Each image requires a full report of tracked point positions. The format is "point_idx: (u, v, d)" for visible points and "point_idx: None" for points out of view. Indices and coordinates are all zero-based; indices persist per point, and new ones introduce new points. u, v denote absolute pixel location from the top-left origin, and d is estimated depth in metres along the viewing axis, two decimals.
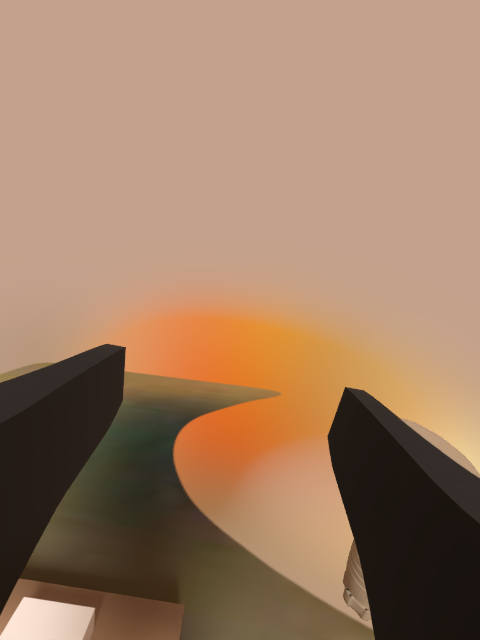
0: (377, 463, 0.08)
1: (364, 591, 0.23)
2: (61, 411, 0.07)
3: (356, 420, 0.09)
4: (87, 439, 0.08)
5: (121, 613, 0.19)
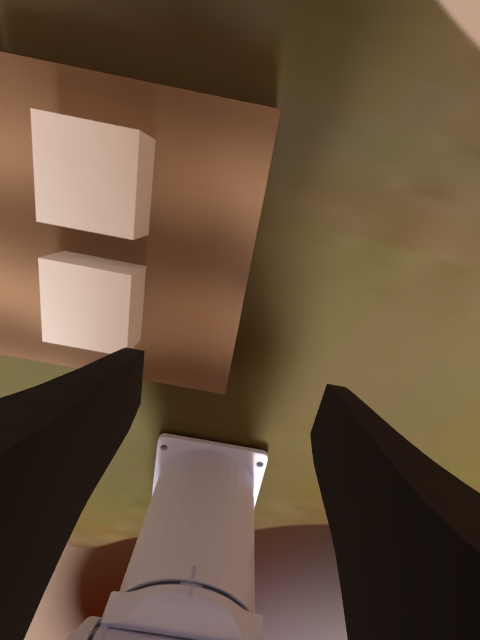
0: (353, 459, 0.07)
1: None
2: (88, 416, 0.07)
3: (335, 416, 0.09)
4: (109, 443, 0.08)
5: (187, 118, 0.13)
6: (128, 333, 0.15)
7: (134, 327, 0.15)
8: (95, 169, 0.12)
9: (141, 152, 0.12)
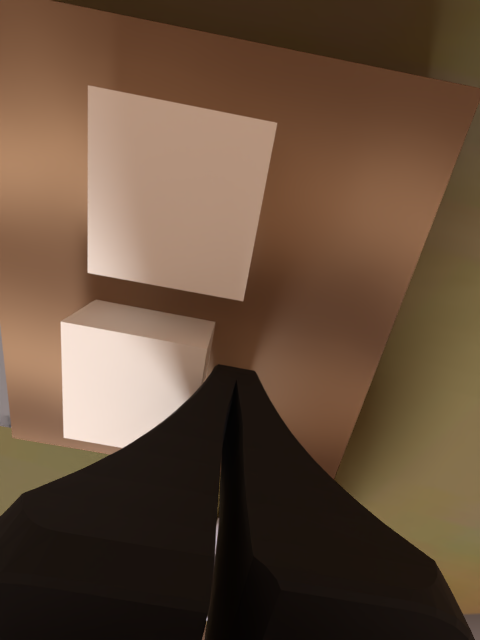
0: (234, 438, 0.07)
1: None
2: None
3: (233, 398, 0.09)
4: None
5: (327, 104, 0.08)
6: None
7: None
8: (192, 190, 0.07)
9: None
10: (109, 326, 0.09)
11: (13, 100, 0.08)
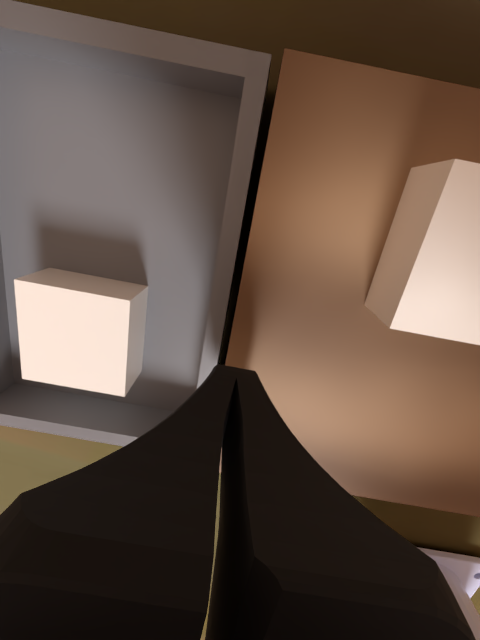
0: (234, 438, 0.07)
1: None
2: None
3: (233, 398, 0.09)
4: None
5: None
6: None
7: None
8: None
9: None
10: (115, 282, 0.12)
11: (301, 156, 0.09)
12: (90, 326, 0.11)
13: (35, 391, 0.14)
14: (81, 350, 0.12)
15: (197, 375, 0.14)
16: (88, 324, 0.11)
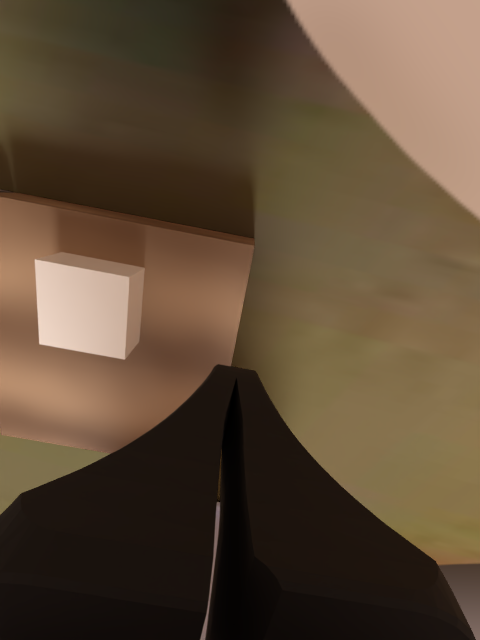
0: (234, 438, 0.07)
1: None
2: None
3: (234, 398, 0.09)
4: None
5: (172, 251, 0.15)
6: None
7: None
8: (91, 306, 0.14)
9: (131, 290, 0.14)
10: None
11: None
12: None
13: None
14: None
15: None
16: None
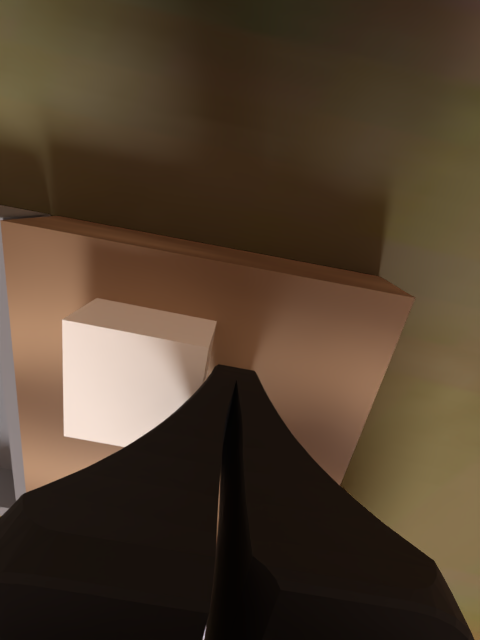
0: (233, 438, 0.07)
1: None
2: None
3: (233, 398, 0.09)
4: None
5: (290, 305, 0.10)
6: None
7: None
8: (145, 386, 0.09)
9: (206, 363, 0.09)
10: None
11: (37, 296, 0.10)
12: None
13: None
14: None
15: None
16: None
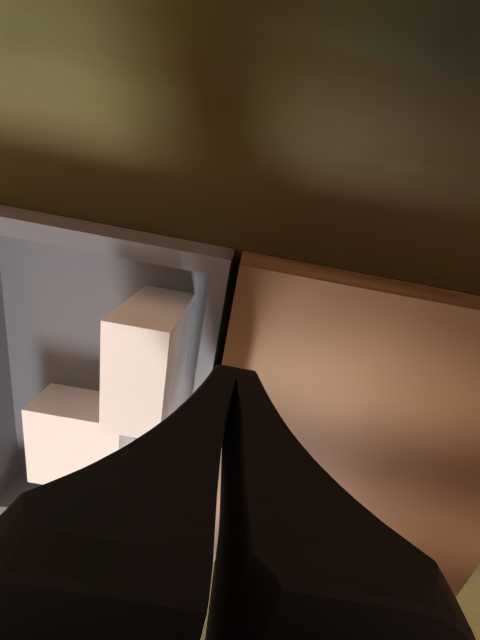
0: (234, 438, 0.07)
1: None
2: None
3: (233, 398, 0.09)
4: None
5: None
6: None
7: None
8: None
9: (112, 344, 0.09)
10: None
11: (257, 336, 0.11)
12: (86, 444, 0.13)
13: None
14: (78, 462, 0.14)
15: None
16: (84, 442, 0.13)
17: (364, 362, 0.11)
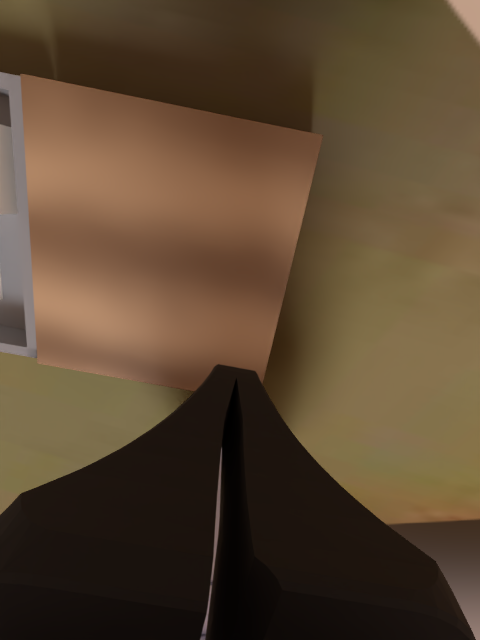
0: (234, 438, 0.07)
1: None
2: None
3: (233, 398, 0.09)
4: None
5: (233, 143, 0.14)
6: None
7: None
8: None
9: None
10: None
11: (46, 138, 0.14)
12: None
13: None
14: None
15: None
16: None
17: (130, 161, 0.14)
